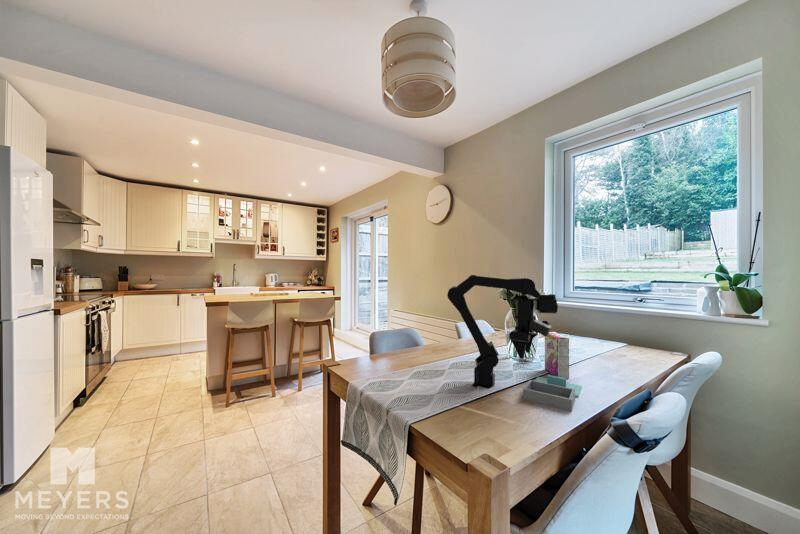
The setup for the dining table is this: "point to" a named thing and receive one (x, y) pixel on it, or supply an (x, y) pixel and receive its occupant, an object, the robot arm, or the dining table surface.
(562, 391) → the parts tub
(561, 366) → the candy bar box
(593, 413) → the dining table surface
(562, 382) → the teal lid
